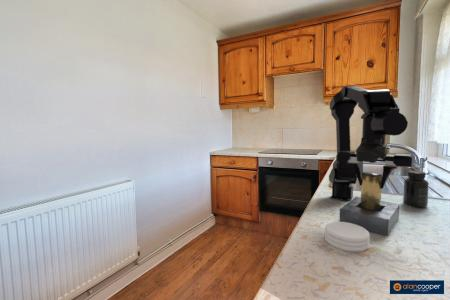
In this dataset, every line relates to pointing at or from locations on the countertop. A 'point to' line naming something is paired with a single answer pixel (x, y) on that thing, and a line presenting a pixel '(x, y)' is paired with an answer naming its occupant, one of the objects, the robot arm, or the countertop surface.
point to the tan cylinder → (371, 190)
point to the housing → (371, 216)
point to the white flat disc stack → (347, 236)
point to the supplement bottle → (415, 190)
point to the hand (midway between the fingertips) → (371, 186)
